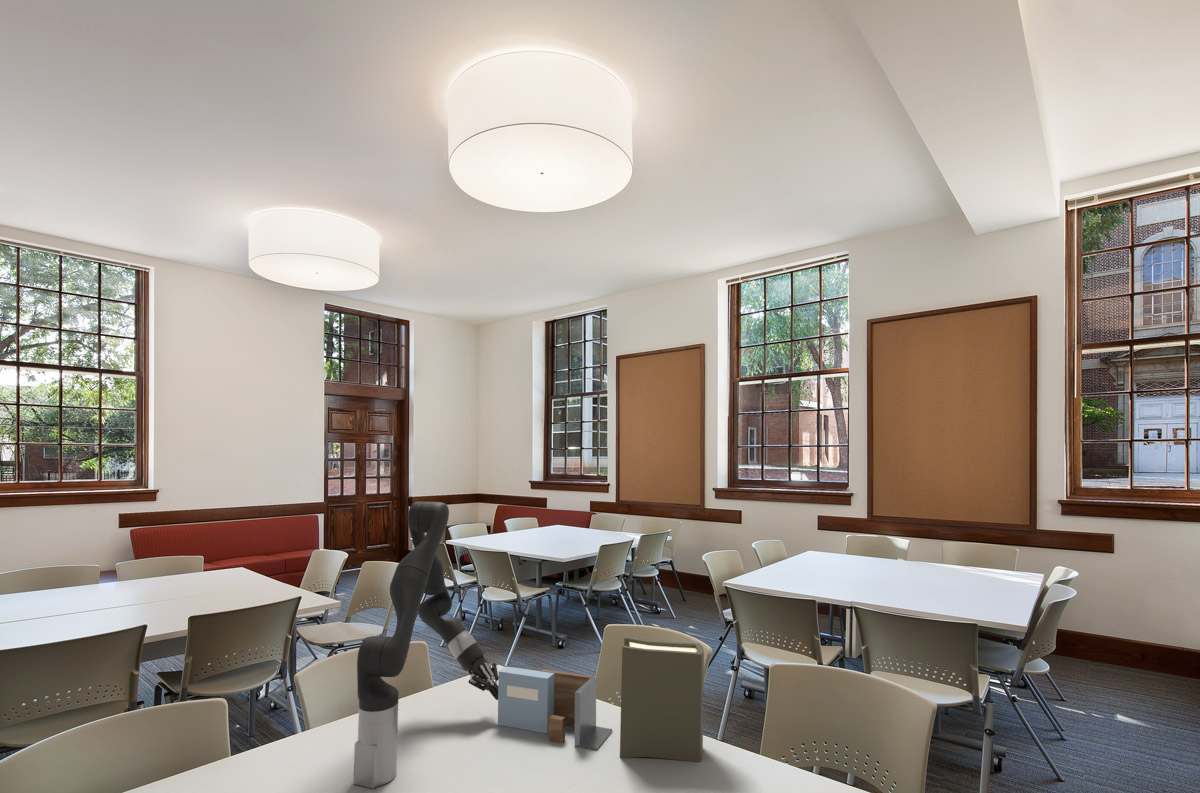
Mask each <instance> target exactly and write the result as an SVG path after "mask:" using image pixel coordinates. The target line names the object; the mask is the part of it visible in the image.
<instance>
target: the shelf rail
mask: <svg viewBox="0 0 1200 793" xmlns="http://www.w3.org/2000/svg"><path fill="white" fill-rule="evenodd" d="M541 671H542V672H549V673H554V715H551V716H550V717H549V732H548V741H550V742H556V743H559V744H560V743H561V744H562V743H564V742H565V740H566V725H570V726H575V692H576V691H577V690H578V689H579V688H580V687H581V686H583V685H584V684H585V683H586V682H587V681H588V680H589V679H590V678H591V677H592V678H594V677H593V675H587V674H586V675H585V674H578V673H572V672H565V671H559V670H553V669H546V668H543V669H541Z"/></svg>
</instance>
